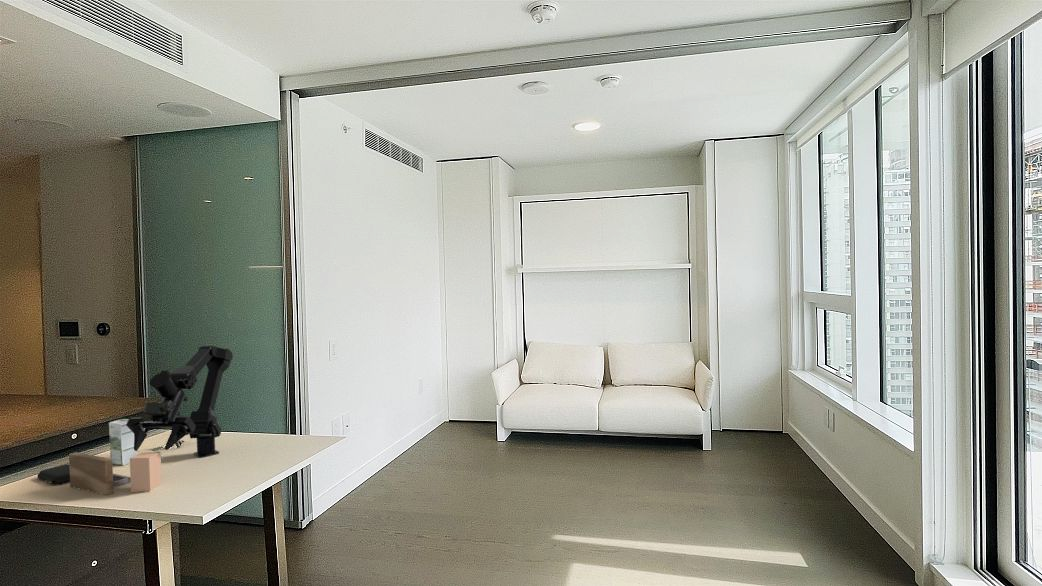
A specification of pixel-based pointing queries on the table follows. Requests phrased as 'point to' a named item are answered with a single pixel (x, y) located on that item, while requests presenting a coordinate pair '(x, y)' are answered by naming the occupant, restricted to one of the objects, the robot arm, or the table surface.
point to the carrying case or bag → (56, 474)
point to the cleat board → (94, 473)
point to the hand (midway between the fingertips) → (150, 449)
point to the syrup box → (121, 442)
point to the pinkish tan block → (145, 471)
